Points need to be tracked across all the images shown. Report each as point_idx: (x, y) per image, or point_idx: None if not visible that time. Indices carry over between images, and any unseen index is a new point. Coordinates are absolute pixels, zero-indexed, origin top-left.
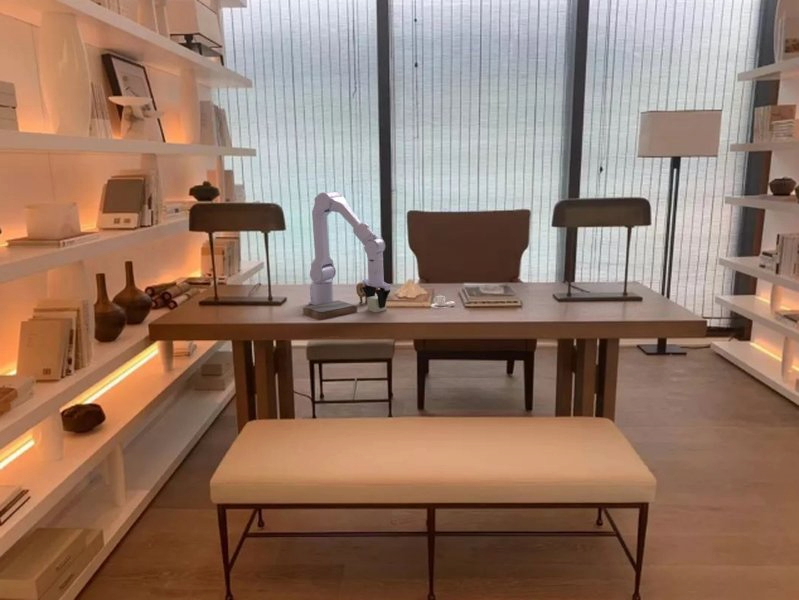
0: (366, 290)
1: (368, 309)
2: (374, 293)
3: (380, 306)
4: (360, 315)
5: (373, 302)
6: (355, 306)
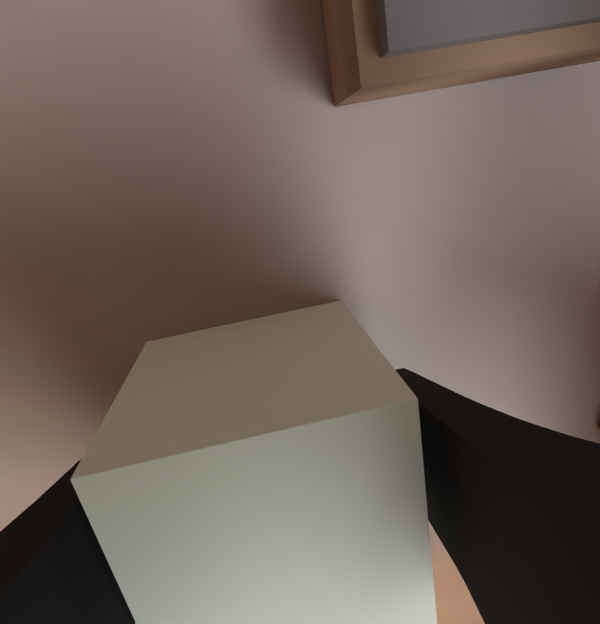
0: (594, 543)
1: (321, 308)
2: (489, 620)
3: None
4: (58, 21)
5: (172, 406)
6: (365, 48)
